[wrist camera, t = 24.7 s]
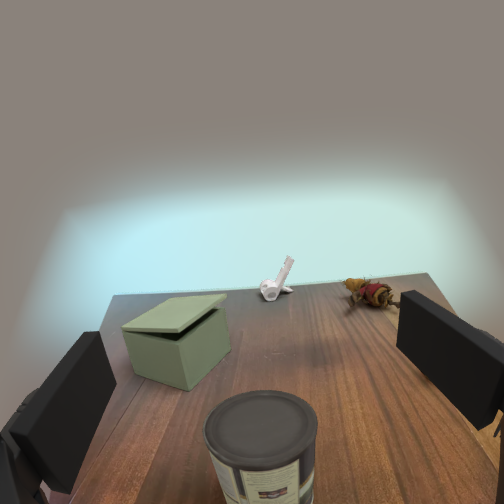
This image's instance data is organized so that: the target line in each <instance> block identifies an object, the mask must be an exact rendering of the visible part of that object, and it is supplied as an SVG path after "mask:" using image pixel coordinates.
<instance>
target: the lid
mask: <svg viewBox="0 0 504 504" xmlns="http://www.w3.org/2000/svg"><path fill="white" fill-rule="evenodd" d="M225 298H227V294H215V295H204V296H191V297H178V298H170V299H168V300H167V301H165V302H163V303H162V304H160V305H158V306H156V307H155V308H153V309H151V310H149V311H148V312H146V313H144V314H143V315H141V316H139V317H137V318H136V319H134V320H132V321H130V322H129V323H127V324H125V325H123V326H122V327H121V329H122V331H138V332H166V333H179V332H181V331H182V330H184V329H185V328H186V327H188V326H189V325H190V324H192V323H193V322H194V321H196V320H197V319H199V318H200V317H201V316H203V315H204V314H205V313H207V312H208V311H209V310H211V309H212V308H213V307H215V306H216V305H217V304H219V303H220V302H221V301H223V300H224V299H225Z"/></svg>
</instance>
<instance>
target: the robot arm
mask: <svg viewBox="0 0 504 504" xmlns="http://www.w3.org/2000/svg"><path fill="white" fill-rule="evenodd" d="M396 347H397V348H398V349H399V350H400V351H401V352H402V353H403V354H404V355H405V356H406V357H407V358H408V359H409V360H410V361H411V362H412V363H413V364H414V365H415V366H416V367H417V368H418V369H419V370H420V371H421V372H422V373H423V374H424V375H425V376H426V377H427V378H428V379H429V380H430V381H431V382H432V383H433V384H434V385H435V386H436V387H437V388H438V389H439V390H440V391H441V392H442V393H443V394H444V395H445V396H446V397H447V398H448V399H449V401H450V402H451V403H452V404H453V405H454V406H455V407H456V408H457V409H458V410H459V411H460V412H461V413H462V414H463V415H464V416H465V417H466V418H467V419H468V421H469V422H470V423H471V424H472V425H473V426H474V427H475V428H476V429H477V430H478V431H479V430H481V429H482V428H484V427H486V426H487V425H489V424H491V423H492V422H493V421H494V419H495V416H496V414H497V412H498V409H499V410H501V411H502V412H503V413H504V343H501V341H499V340H498V339H495V338H494V337H493V336H492V335H490V334H489V333H487V332H485V331H483V330H479V329H476V328H474V327H473V326H471V325H470V324H468V323H467V322H465V321H463V320H462V319H460V318H459V317H457V316H456V315H454V314H453V313H451V312H449V311H448V310H446V309H445V308H443V307H441V306H440V305H438V304H437V303H435V302H433V301H432V300H430V299H429V298H427V297H425V296H424V295H422V294H420V293H419V292H417V291H415V290H412V291H407V292H402V293H401V298H400V312H399V324H398V334H397V343H396ZM116 385H117V383H116V380H115V377H114V375H113V372H112V369H111V366H110V363H109V360H108V357H107V354H106V351H105V348H104V345H103V342H102V339H101V335H100V332H99V331H94V332H84V333H83V334H82V335H81V336H80V338H79V339H78V340H77V341H76V343H75V344H74V345H73V346H72V347H71V349H70V350H69V351H68V352H67V354H66V355H65V356H64V357H63V359H62V360H61V361H60V363H58V365H57V366H56V367H55V368H54V370H53V371H52V372H51V374H50V375H49V376H48V377H47V379H46V380H45V381H44V383H43V384H42V385H41V386H40V388H37V389H36V390H34V391H33V392H32V393H30V394H29V395H28V396H27V397H26V398H25V399H24V401H23V402H22V405H20V406H19V407H18V409H17V412H15V413H14V414H13V415H12V417H11V418H10V420H9V421H8V422H7V424H6V425H5V426H4V428H3V429H2V431H1V432H0V504H49V503H48V501H47V498H46V496H45V493H44V492H43V490H42V489H41V488H40V484H41V482H42V480H43V481H44V482H45V483H46V484H47V485H48V487H49V488H50V489H51V490H52V491H56V492H60V493H65V494H69V495H70V494H71V491H72V488H73V486H74V483H75V481H76V478H77V475H78V473H79V470H80V468H81V465H82V463H83V460H84V458H85V455H86V453H87V451H88V448H89V446H90V443H91V441H92V439H93V436H94V434H95V432H96V429H97V427H98V425H99V422H100V420H101V418H102V415H103V413H104V411H105V409H106V406H107V404H108V402H109V400H110V398H111V395H112V393H113V391H114V389H115V387H116ZM500 430H501V435H500V437H501V443H500V465H499V478H498V487H497V496H496V503H495V504H504V414H503V416H502V418H501V420H500V422H499V425H498V427H497V429H496V431H495V433H494V436H493V437H496V436H497V434H498V432H499V431H500Z"/></svg>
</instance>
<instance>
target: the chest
mask: <svg viewBox="0 0 504 504" xmlns="http://www.w3.org/2000/svg"><path fill="white" fill-rule="evenodd" d="M122 332H123V336H124V339H125V343H126V346H127V350H128V353H129V356H130V360H131V363H132V366H133V369H134V372H135V374H137V375H140V376H143V377H145V378H148V379H151V380H154V381H157V382H160V383H163V384H166V385H169V386H172V387H175V388H178V389H182V390H185V391H188V392H189V391H190V390H192V389H193V388H194V387H195V386H196V385H197V384H198V383H199V382H200V381H201V380H202V379H203V378H204V377H205V376H206V375H207V374H208V373H209V372H210V371H211V370H212V369H213V368H214V367H215V366H216V365H217V364H218V363H219V362H220V361H221V360H222V359H223V358H224V357H225V356H226V355H227V354H228V352H229V351H230V350H231V346H230V339H229V332H228V325H227V319H226V311H225V308H221V307H213V308H212V309H211V310H209V311H208V312H207V313H205V314H204V315H203V316H201V317H200V318H199V319H197V320H196V321H194V322H193V323H192V324H190V325H189V326H188V327H186V328H185V329H184V330H182V331H181V332H179V333H166V332H138V331H122Z"/></svg>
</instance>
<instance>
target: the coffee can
mask: <svg viewBox="0 0 504 504" xmlns="http://www.w3.org/2000/svg"><path fill="white" fill-rule="evenodd" d="M317 426H318V422H317V416H316V414H315V411H314V410H313V408H312V407H311V406H310V405H309V404H308V403H307V402H306V401H304V400H303V399H301V398H299V397H297V396H295V395H293V394H290V393H286V392H282V391H274V390H258V391H250V392H245V393H241V394H238V395H235V396H233V397H230V398H228V399H226V400H224V401H223V402H221V403H220V404H218V405H217V406H216V407H214V408H213V409H212V410H211V411H210V413H209V414H208V416H207V417H206V419H205V421H204V424H203V438H204V441H205V443H206V446H207V448H208V449H209V452H210V455H211V458H212V461H213V464H214V467H215V470H216V473H217V476H218V479H219V482H220V485H221V488H222V490H223V493H224V496H225V499H226V502H227V504H312V502H313V482H314V461H315V439H316V434H317Z"/></svg>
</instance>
